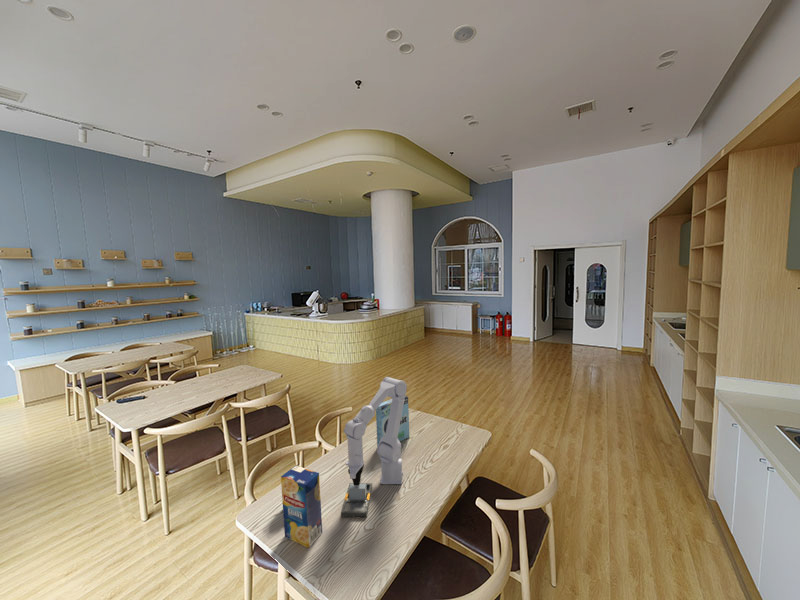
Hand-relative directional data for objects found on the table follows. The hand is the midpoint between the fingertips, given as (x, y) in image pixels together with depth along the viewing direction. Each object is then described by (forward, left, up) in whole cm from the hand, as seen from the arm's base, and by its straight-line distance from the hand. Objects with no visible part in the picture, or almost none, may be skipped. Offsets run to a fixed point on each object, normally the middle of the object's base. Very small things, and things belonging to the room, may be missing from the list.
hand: (356, 484), depth 124 cm
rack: (0, 0, -7) cm, 7 cm away
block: (0, 0, -7) cm, 7 cm away
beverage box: (+16, +16, -7) cm, 24 cm away
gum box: (-12, -44, -7) cm, 46 cm away
